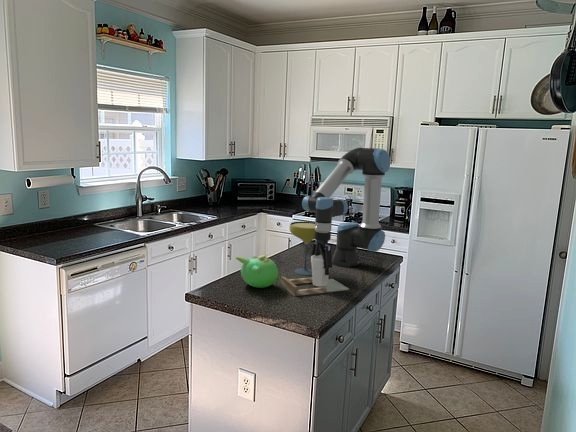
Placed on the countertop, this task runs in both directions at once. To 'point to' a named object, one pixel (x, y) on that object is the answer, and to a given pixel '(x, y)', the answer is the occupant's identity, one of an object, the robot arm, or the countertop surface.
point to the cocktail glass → (303, 239)
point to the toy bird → (258, 271)
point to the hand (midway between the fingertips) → (319, 277)
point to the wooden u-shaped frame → (294, 290)
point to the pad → (334, 286)
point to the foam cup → (317, 270)
